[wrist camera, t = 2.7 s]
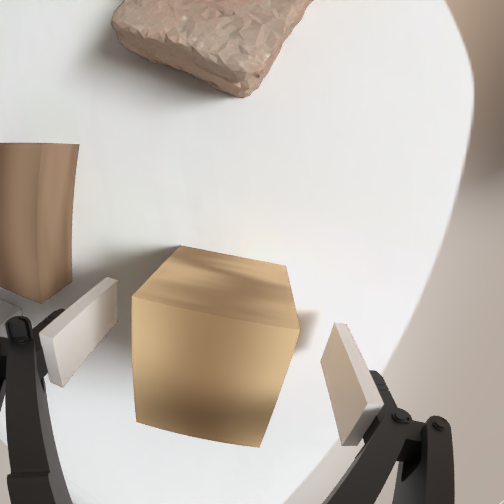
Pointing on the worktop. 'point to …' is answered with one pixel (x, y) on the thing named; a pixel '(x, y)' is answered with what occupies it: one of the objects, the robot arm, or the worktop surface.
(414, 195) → the worktop surface
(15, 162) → the walnut block
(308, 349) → the worktop surface
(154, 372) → the oak block
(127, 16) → the brick
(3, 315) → the grey block
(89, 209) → the worktop surface
